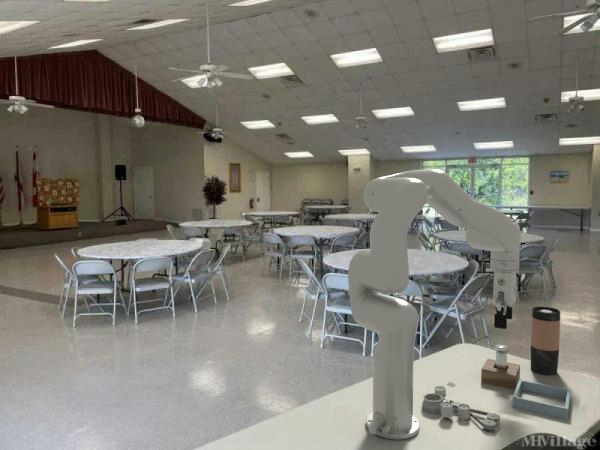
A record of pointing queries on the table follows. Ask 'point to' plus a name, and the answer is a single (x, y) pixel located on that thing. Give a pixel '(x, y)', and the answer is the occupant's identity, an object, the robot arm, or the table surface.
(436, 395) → the pulley system
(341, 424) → the table surface
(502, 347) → the lock pin
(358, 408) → the table surface
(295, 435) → the table surface
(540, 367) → the travel mug
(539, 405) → the pin tray
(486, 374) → the block
